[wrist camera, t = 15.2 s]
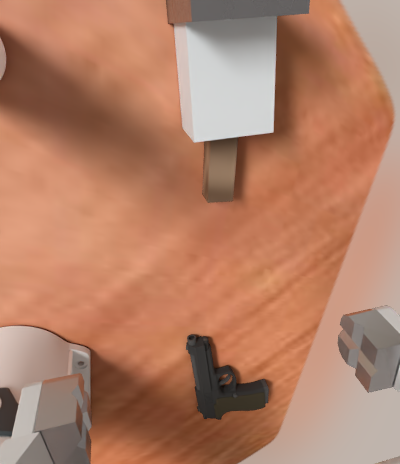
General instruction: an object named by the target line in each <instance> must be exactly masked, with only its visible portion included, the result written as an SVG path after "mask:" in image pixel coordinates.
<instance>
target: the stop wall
mask: <svg viewBox="0 0 400 464" xmlns="http://www.w3.org/2000/svg"><path fill="white" fill-rule="evenodd" d="M309 4H310V0H166V5H167V16H168V24H171V23H184V22H198V21H212V20H226V19H240V18H254V17H268V16H282V15H296V14H309Z"/></svg>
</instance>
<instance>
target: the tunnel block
mask: <svg viewBox="0 0 400 464" xmlns="http://www.w3.org/2000/svg"><path fill="white" fill-rule="evenodd" d="M174 33H175V45H176V57H177V69H178V80H179V92H180V104H181V116H182V128H183V129H184V131H185V132H186V133H187V134H188V136H189V137H190V138H191V139H192V140H193V142H202V141H210V140H218V139H226V138H234V137H242V136H250V135H258V134H266V133H273V131H274V99H275V67H276V35H277V16H268V17H254V18H240V19H226V20H212V21H198V22H184V23H174Z"/></svg>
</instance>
